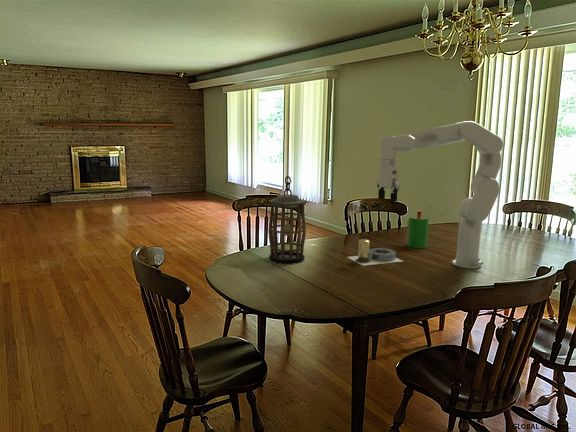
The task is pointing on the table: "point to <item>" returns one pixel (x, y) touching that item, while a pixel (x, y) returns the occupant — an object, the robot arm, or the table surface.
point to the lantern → (287, 228)
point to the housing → (382, 254)
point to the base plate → (372, 261)
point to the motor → (418, 231)
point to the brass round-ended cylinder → (363, 250)
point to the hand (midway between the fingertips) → (387, 200)
